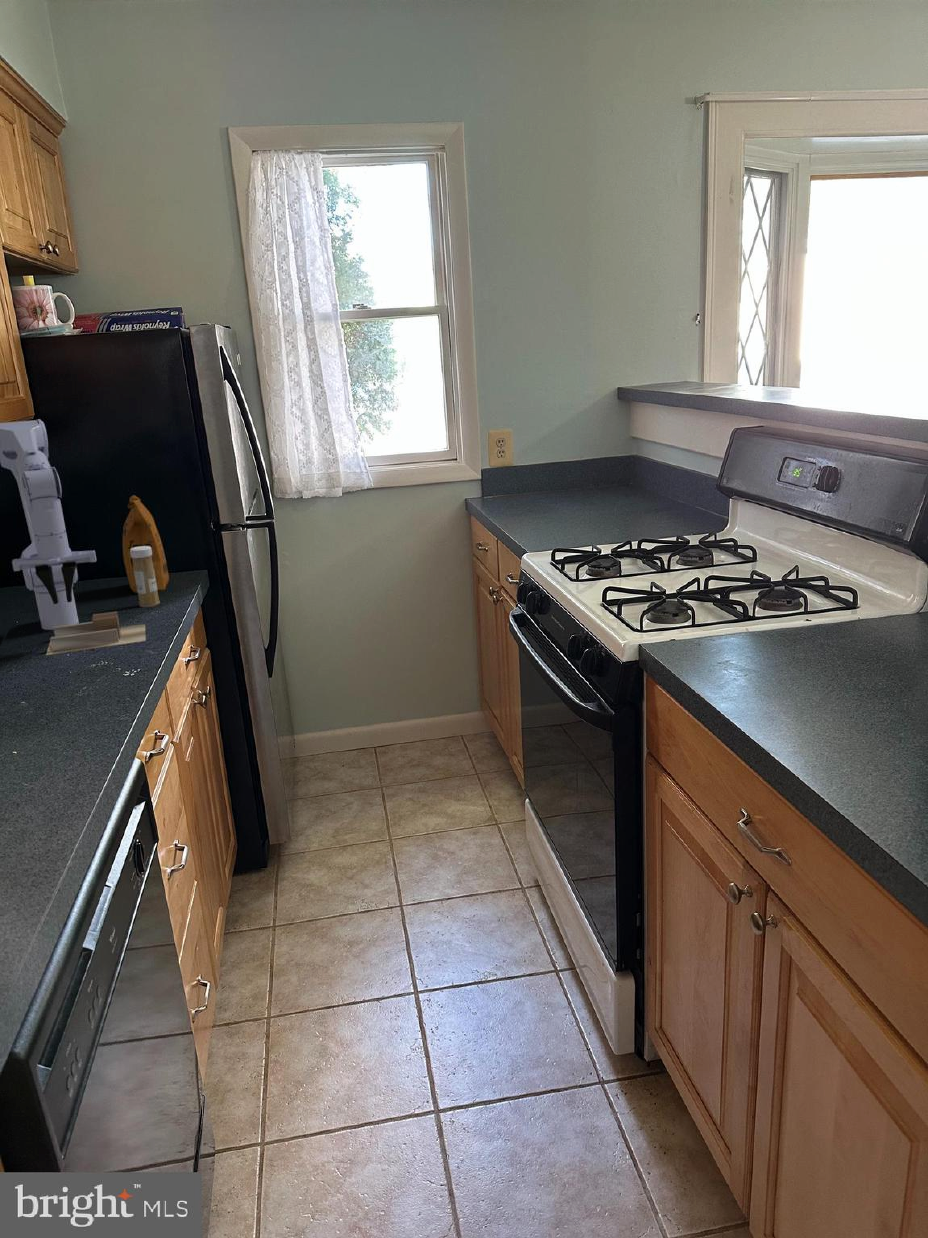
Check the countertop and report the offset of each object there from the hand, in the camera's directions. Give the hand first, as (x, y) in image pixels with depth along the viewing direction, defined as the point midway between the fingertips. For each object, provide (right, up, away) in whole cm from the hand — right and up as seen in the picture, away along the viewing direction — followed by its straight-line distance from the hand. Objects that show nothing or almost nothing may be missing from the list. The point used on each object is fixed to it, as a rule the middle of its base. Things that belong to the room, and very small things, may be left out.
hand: (62, 601), depth 172 cm
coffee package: (0, +4, +46) cm, 47 cm away
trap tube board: (+5, -8, +4) cm, 11 cm away
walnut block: (+7, -7, +5) cm, 11 cm away
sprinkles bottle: (+6, 0, +30) cm, 31 cm away
